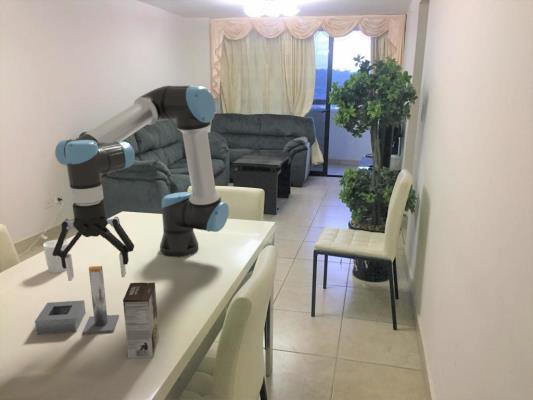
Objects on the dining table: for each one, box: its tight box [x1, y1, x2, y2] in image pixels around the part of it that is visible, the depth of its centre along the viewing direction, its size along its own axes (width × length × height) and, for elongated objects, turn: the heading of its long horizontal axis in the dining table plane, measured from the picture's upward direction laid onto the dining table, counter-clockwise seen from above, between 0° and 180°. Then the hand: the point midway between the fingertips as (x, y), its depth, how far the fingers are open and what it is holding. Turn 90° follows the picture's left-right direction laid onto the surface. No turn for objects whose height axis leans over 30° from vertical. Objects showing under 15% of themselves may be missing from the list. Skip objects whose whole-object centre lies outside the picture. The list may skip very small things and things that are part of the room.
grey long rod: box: [88, 265, 108, 326], centre depth 118 cm, size 3×3×17 cm
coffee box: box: [122, 281, 160, 359], centre depth 108 cm, size 9×6×16 cm
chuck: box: [34, 299, 86, 335], centre depth 121 cm, size 10×10×4 cm
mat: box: [82, 314, 120, 335], centre depth 120 cm, size 8×8×1 cm
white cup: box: [42, 238, 70, 274], centre depth 154 cm, size 8×8×10 cm
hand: (97, 276), depth 117 cm, fingers open, 13 cm apart
